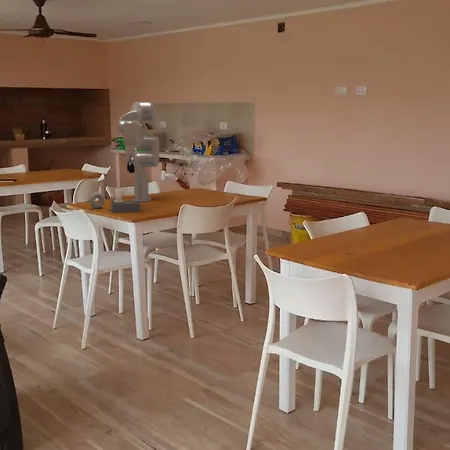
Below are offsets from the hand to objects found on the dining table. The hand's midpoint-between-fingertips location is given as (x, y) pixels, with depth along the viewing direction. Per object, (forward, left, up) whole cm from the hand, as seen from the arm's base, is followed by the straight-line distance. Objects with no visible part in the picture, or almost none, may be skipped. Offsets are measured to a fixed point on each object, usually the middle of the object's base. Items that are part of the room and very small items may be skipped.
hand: (130, 172), depth 361 cm
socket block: (-3, -3, -23) cm, 24 cm away
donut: (-14, -19, -23) cm, 33 cm away
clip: (-6, -4, -17) cm, 18 cm away
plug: (-3, -7, -23) cm, 24 cm away
